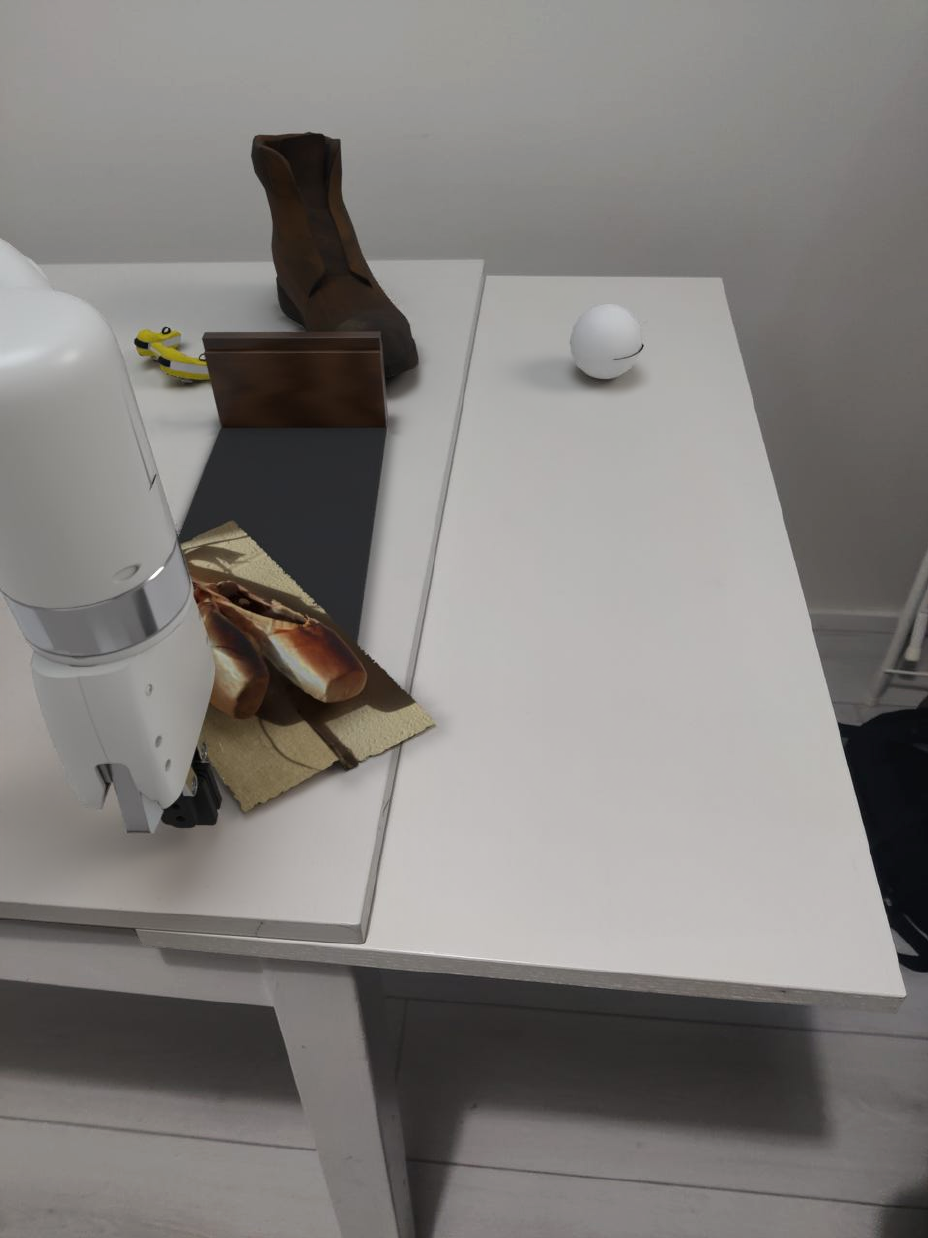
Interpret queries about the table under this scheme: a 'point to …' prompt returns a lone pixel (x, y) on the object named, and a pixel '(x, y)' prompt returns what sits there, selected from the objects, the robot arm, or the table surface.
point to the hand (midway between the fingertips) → (193, 813)
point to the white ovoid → (606, 341)
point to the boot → (323, 247)
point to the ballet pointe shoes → (284, 675)
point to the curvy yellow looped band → (171, 355)
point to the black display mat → (299, 505)
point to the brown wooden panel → (297, 379)
